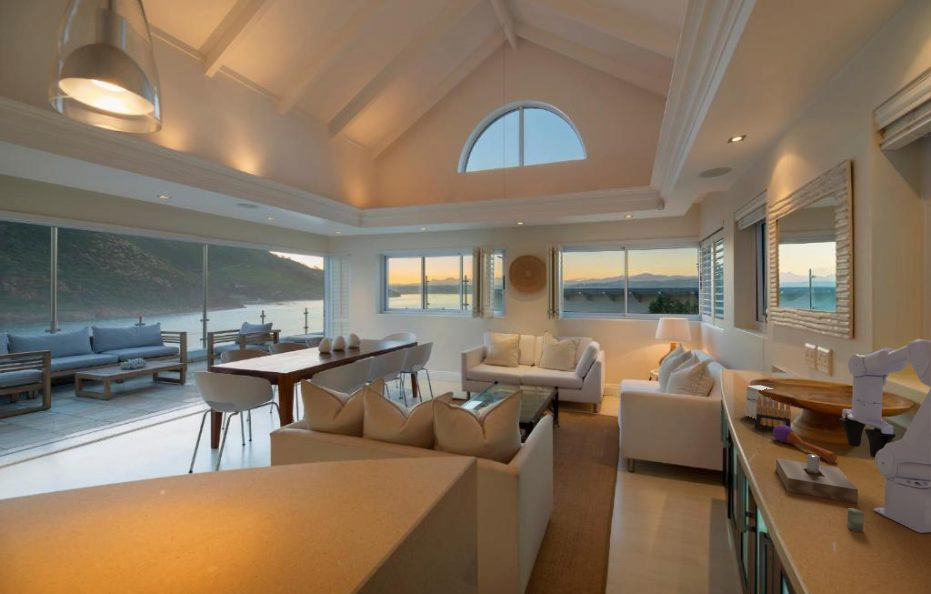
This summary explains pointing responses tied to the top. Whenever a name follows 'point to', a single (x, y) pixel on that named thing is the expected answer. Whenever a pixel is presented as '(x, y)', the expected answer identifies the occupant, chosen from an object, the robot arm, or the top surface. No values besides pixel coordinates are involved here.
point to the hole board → (816, 481)
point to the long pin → (813, 464)
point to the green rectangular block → (855, 519)
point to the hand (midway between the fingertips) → (865, 451)
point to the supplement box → (755, 400)
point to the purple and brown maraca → (801, 442)
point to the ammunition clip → (772, 414)
